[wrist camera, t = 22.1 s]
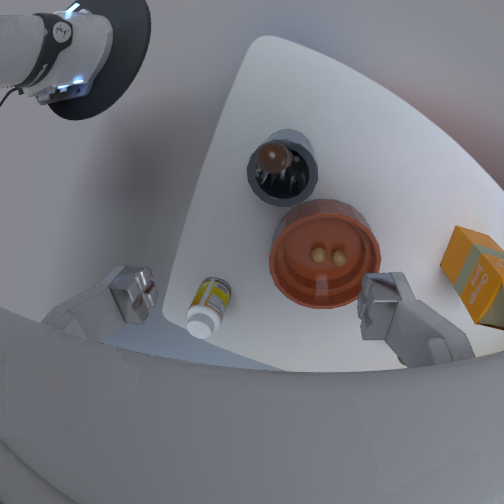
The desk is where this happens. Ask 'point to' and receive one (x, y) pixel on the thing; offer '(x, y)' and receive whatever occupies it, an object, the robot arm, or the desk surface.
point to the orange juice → (477, 275)
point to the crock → (286, 172)
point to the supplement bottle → (208, 308)
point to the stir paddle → (275, 157)
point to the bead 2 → (339, 257)
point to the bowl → (330, 239)
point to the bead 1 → (318, 255)
